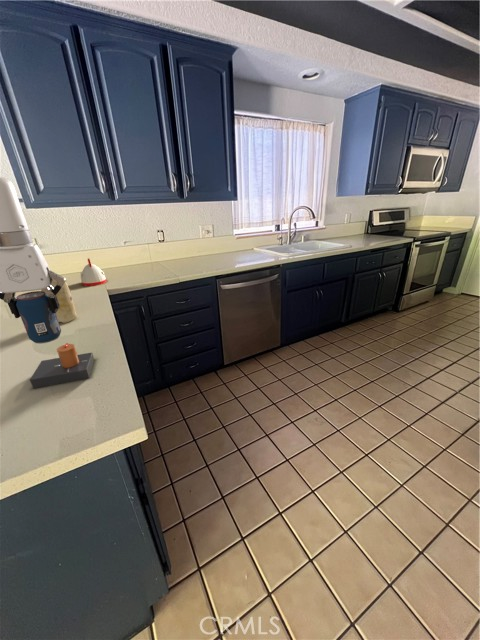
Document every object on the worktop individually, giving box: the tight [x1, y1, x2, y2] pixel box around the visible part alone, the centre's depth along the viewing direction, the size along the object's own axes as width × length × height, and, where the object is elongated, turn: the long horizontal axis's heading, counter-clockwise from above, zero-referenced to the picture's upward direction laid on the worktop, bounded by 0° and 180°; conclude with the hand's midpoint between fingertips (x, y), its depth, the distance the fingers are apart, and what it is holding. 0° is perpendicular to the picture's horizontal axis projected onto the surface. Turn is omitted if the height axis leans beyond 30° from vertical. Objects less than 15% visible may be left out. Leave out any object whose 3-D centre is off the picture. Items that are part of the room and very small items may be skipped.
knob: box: [56, 342, 79, 368], centre depth 78 cm, size 4×4×6 cm
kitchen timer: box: [80, 258, 107, 287], centre depth 165 cm, size 14×14×15 cm
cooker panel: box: [29, 352, 95, 389], centre depth 79 cm, size 14×10×3 cm
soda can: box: [16, 290, 62, 345], centre depth 66 cm, size 7×7×12 cm
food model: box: [40, 275, 78, 324], centre depth 110 cm, size 10×7×20 cm
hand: (37, 313), depth 66 cm, fingers closed on soda can, 7 cm apart
